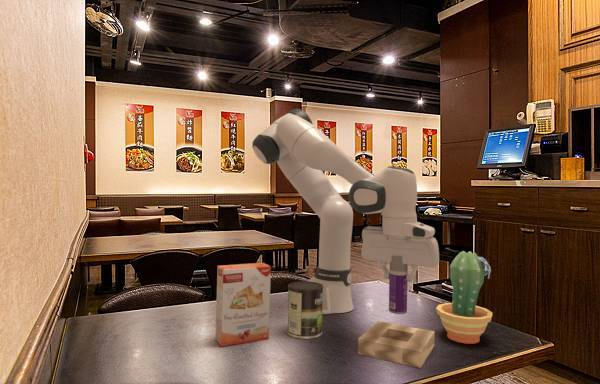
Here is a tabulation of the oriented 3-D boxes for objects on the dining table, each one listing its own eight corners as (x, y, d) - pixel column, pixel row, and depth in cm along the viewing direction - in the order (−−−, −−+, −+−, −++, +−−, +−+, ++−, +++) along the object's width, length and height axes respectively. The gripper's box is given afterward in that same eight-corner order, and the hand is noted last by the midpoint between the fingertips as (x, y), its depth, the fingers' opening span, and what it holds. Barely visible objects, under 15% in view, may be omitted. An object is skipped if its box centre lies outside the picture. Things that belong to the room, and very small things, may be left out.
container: (407, 314, 107) (408, 257, 107) (388, 313, 108) (389, 256, 108) (406, 309, 112) (407, 254, 112) (388, 308, 113) (389, 253, 113)
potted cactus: (481, 353, 109) (483, 258, 109) (426, 337, 120) (428, 251, 119) (500, 337, 121) (502, 252, 120) (448, 324, 131) (450, 245, 131)
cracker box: (221, 348, 110) (222, 269, 109) (215, 340, 115) (216, 265, 114) (270, 339, 116) (271, 265, 116) (262, 332, 121) (263, 261, 121)
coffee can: (325, 328, 125) (326, 282, 125) (317, 341, 115) (318, 291, 115) (293, 324, 128) (294, 279, 128) (282, 336, 118) (283, 287, 118)
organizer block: (358, 353, 107) (358, 338, 107) (377, 334, 121) (378, 321, 121) (420, 368, 100) (421, 351, 100) (434, 346, 114) (434, 331, 114)
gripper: (358, 226, 112) (357, 277, 112) (436, 231, 102) (435, 287, 102) (366, 224, 118) (365, 273, 118) (441, 229, 107) (440, 282, 108)
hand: (398, 279), depth 110 cm, fingers closed on container, 5 cm apart
